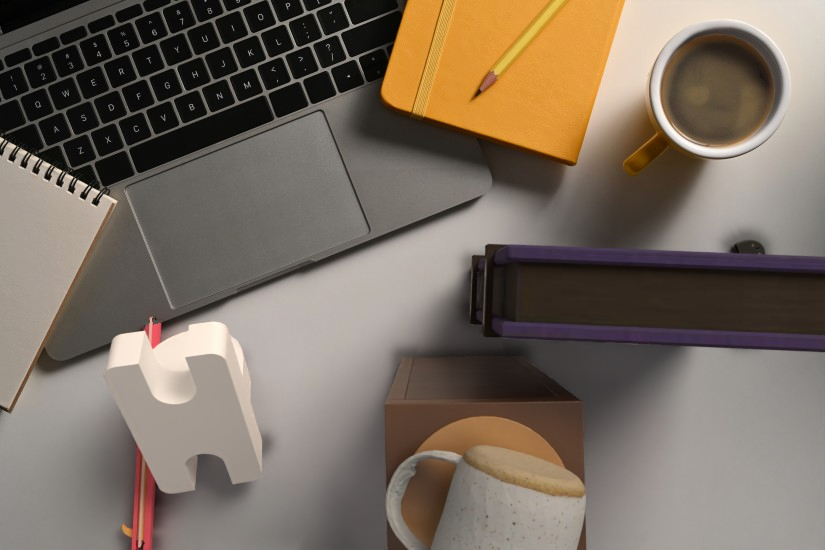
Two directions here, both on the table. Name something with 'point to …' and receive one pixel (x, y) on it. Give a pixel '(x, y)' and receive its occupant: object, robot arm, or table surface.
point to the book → (650, 297)
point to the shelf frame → (472, 379)
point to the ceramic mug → (496, 502)
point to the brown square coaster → (468, 427)
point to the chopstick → (144, 480)
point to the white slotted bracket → (187, 403)
